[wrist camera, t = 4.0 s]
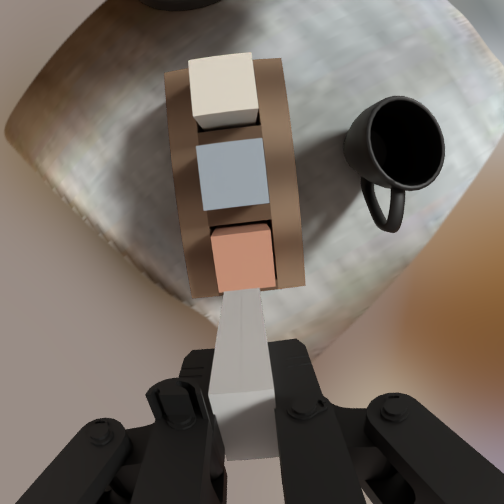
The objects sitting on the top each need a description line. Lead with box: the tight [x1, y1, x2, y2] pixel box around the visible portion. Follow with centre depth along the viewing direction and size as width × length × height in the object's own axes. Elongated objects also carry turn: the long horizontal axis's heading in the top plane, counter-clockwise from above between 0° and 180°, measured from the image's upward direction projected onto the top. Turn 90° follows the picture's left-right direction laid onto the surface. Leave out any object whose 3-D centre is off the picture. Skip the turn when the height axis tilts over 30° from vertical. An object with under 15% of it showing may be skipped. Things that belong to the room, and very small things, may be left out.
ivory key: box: [188, 52, 259, 132], centre depth 21 cm, size 4×4×7 cm
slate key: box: [196, 138, 269, 211], centre depth 23 cm, size 4×4×7 cm
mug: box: [343, 96, 445, 233], centre depth 26 cm, size 8×12×10 cm
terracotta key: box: [211, 220, 276, 293], centre depth 26 cm, size 4×4×7 cm
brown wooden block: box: [164, 58, 305, 298], centre depth 27 cm, size 20×10×7 cm, turn 6°
